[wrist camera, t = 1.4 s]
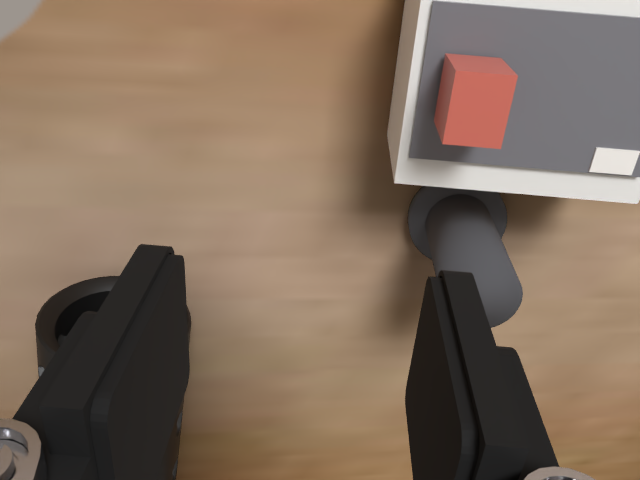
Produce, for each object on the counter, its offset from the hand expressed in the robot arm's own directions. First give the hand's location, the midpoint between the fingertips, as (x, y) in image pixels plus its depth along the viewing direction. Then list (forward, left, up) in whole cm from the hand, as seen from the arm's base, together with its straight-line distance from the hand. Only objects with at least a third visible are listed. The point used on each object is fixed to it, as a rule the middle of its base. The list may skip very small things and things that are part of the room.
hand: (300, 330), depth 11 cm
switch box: (-10, 0, -25) cm, 27 cm away
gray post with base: (-9, +10, -25) cm, 29 cm away
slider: (-6, 0, -18) cm, 19 cm away
